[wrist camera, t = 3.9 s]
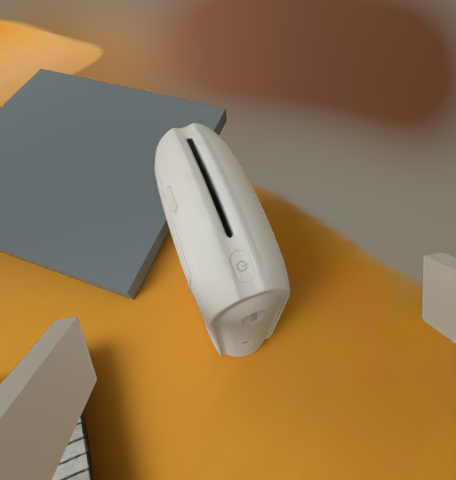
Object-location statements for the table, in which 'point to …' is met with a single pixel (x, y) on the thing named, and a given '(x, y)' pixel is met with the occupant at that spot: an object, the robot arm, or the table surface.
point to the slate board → (88, 176)
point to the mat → (76, 456)
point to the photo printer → (221, 239)
